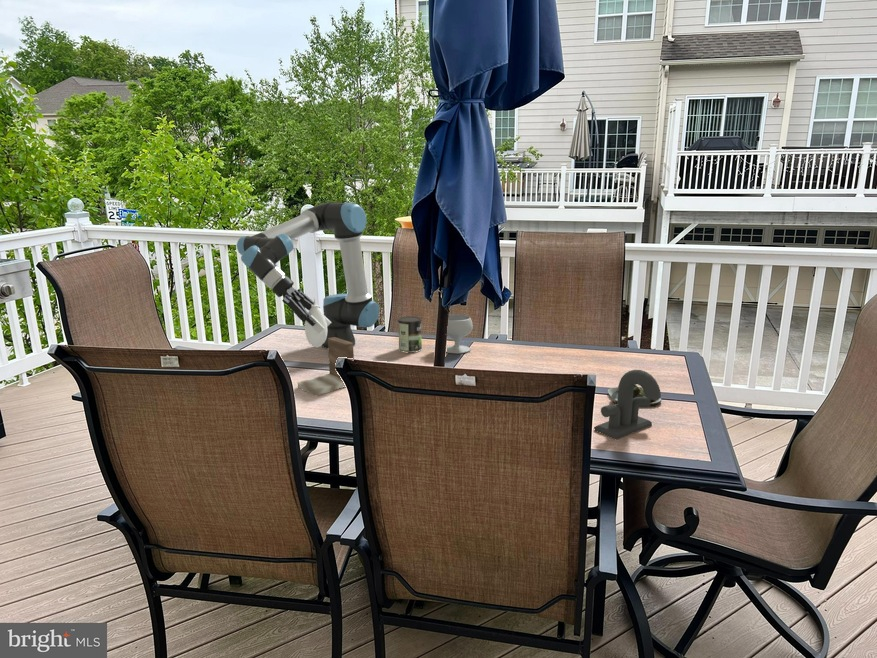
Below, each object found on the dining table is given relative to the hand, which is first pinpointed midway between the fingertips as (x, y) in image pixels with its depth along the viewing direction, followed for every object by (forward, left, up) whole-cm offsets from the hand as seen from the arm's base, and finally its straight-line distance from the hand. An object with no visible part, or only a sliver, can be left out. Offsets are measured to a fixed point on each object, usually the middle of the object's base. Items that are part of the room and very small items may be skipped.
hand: (325, 327), depth 221 cm
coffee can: (-53, -15, -23) cm, 60 cm away
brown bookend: (-1, -2, -23) cm, 23 cm away
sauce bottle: (+2, -3, -7) cm, 8 cm away
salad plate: (-69, +84, -23) cm, 111 cm away
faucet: (-44, +98, -23) cm, 110 cm away
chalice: (-67, 0, -23) cm, 71 cm away
